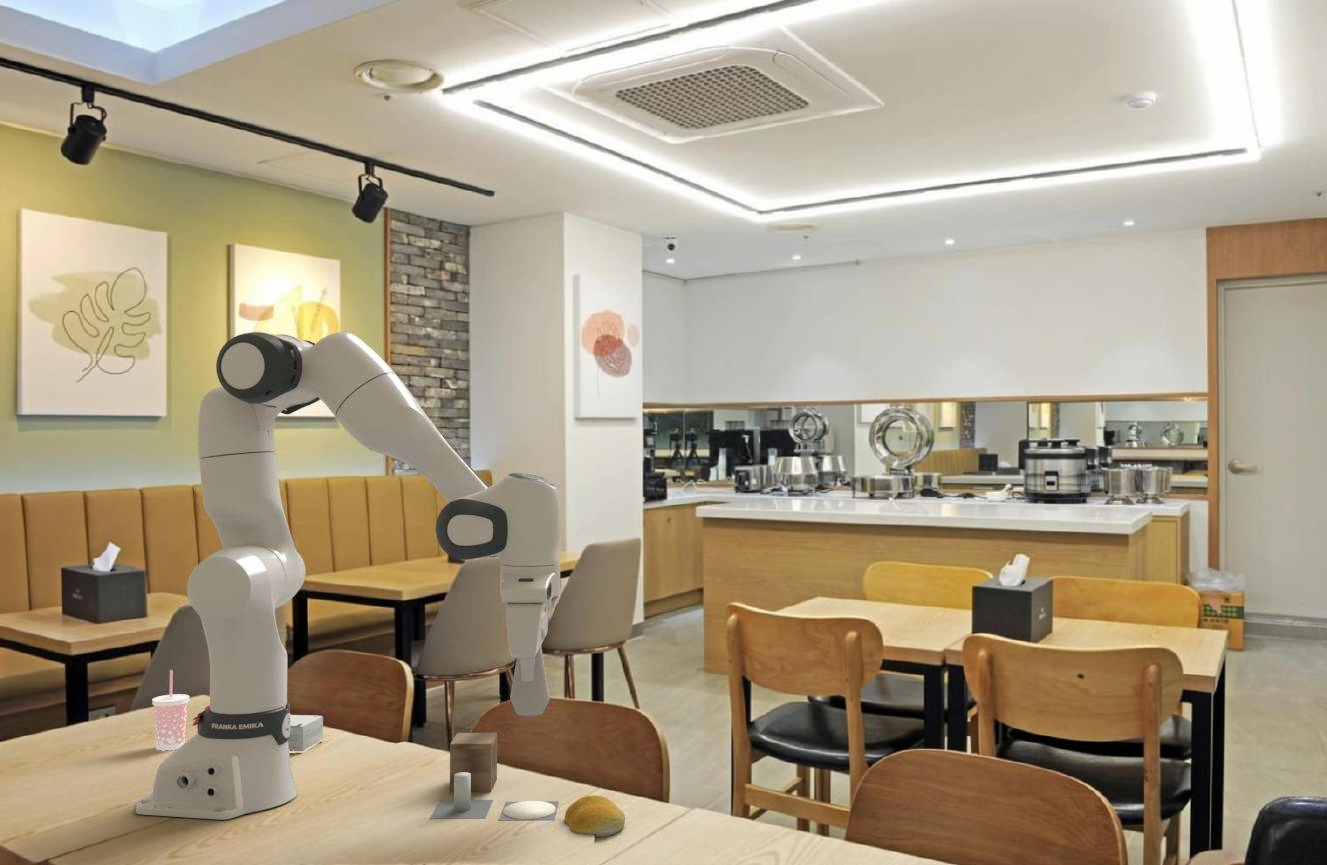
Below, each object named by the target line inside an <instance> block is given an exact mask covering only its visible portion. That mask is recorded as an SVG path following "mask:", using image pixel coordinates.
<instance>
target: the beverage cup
mask: <svg viewBox="0 0 1327 865" xmlns="http://www.w3.org/2000/svg"><path fill="white" fill-rule="evenodd" d="M173 674H174V672H173V669H169V694H165V695H159V696H156V697H154V698H152V699H151V701H152V703H151V704H152V705H153V710H154V711H153V714H154V717H153V718H154V731H155V732H154V733H155V750H156V749H157V750H156V751H158V750H161V751H160V752H166V751H165V750H173V751H176V750H175V749H178V748H180V747H181V746H182V745H183V744H185V743H186V742H185V740H186V731H187V730H186V728H187V727H186V726H187V716H188V713H187V712H188V706H189V705H188V703H189V701H190V695H189V694H184V693H183V694H182V693H173V690H174V689H173V686H174V685H173V684H174V683H173V681H174V680H173V676H174V675H173Z"/></svg>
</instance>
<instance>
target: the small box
mask: <svg viewBox="0 0 1327 865" xmlns="http://www.w3.org/2000/svg"><path fill="white" fill-rule="evenodd" d="M290 715H291V728H290V736H289V739H288V747H289V750H290V751H293V750H294V751H304V750H305V749H306V748H308V747H309V746H312V745H313V744H315V743H316V742H318V741H319V740H320V739H324V738H323V735H324V729H323V728H324V717H323V716H322V715H316V714H315V715H314V714H313V715H312V714H311V715H310V714H309V715H307V714H290Z"/></svg>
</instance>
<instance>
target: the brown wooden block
mask: <svg viewBox="0 0 1327 865" xmlns="http://www.w3.org/2000/svg"><path fill="white" fill-rule="evenodd" d="M460 772H468V773H470V774H471V793H492V791H493V789H494V787H495V784H496V782H497V780H498V732H457V733H456V734H455V736H454V737H453V739H452V741H451V742H450V744H449V793H454V774H456V773H460Z"/></svg>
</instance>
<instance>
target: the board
mask: <svg viewBox="0 0 1327 865" xmlns="http://www.w3.org/2000/svg"><path fill="white" fill-rule="evenodd" d="M471 793H472V792H471V774H470V773H468V772H460V773H456V774H454V792H453V799H440V800H439V801H438V803H437V805H436V807H435V808H434V810H433V812H432V814H431V815H430V816H429V820H451V819H453V820H457V819H458V820H460V819H461V820H462V819H472V820H474V819H476V820H477V819H479V820H480V819H482V820H483V819H486V818H487V816H488V814H489V811H490V808H491V806H492V804H493V802H494V799H471V798H472V797H471V796H472V795H471Z"/></svg>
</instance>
